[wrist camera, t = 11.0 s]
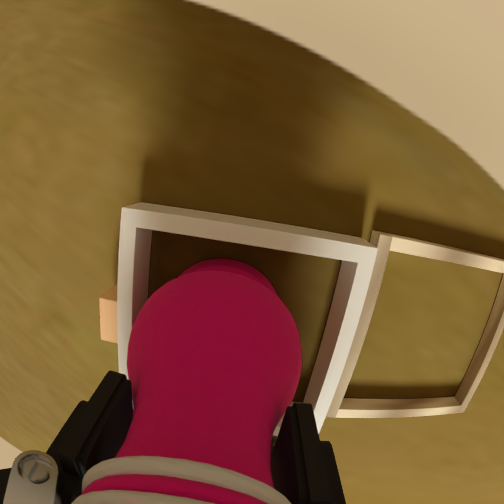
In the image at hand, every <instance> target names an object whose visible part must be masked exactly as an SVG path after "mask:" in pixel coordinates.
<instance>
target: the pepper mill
mask: <svg viewBox="0 0 504 504" xmlns="http://www.w3.org/2000/svg"><path fill="white" fill-rule="evenodd" d="M301 370H302V351H301V343H300V336H299V330H298V328H297V326H296V323H295V321H294V318H293V316H292V315H291V313H290V311H289V310H288V309H287V307H286V306H285V304H284V303H283V302H282V301H281V299H280V298H279V297H278V295H277V293H276V291H275V289H274V287H273V285H272V284H271V283H270V281H269V280H268V279H267V278H266V277H265V276H264V275H263V274H262V273H261V272H260V271H258V270H257V269H255V268H254V267H252V266H250V265H248V264H246V263H243V262H241V261H237V260H233V259H226V258H215V259H209V260H205V261H201V262H199V263H196V264H194V265H192V266H190V267H189V268H187V269H186V270H185V271H183V272H182V273H181V274H180V275H179V276H178V277H177V278H175V279H173V280H171V281H169V282H167V283H166V284H164V285H163V286H162V287H160V288H159V289H158V290H157V291H155V292H154V293H153V294H152V295H151V296H150V297H149V299H148V300H147V301H146V302H145V304H144V305H143V307H142V309H141V310H140V312H139V314H138V316H137V318H136V320H135V322H134V324H133V326H132V330H131V334H130V338H129V343H128V352H127V371H128V378H129V380H131V384H132V400H133V420H132V422H131V425H130V428H129V431H128V433H127V436H126V439H125V442H124V443H123V445H122V447H121V448H120V450H119V452H118V453H117V455H116V457H115V458H112V459H109V460H105V461H102V462H100V463H98V464H96V465H95V466H93V467H92V468H90V469H89V470H88V471H87V472H86V474H85V475H84V478H83V480H82V494H81V496H79V497H77V498H76V499H75V500H74V501H73V502H72V503H71V504H291V503H290V502H289V500H288V499H287V498H286V497H285V496H284V495H282V494H281V493H280V492H278V491H277V490H275V489H274V486H273V481H272V475H271V470H270V466H271V441H272V437H273V433H274V431H275V429H276V427H277V425H278V423H279V421H280V420H281V418H282V416H283V415H284V413H285V411H286V408H287V406H289V405H290V403H291V402H292V400H293V397H294V395H295V392H296V389H297V386H298V383H299V379H300V374H301Z"/></svg>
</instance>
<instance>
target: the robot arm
mask: <svg viewBox="0 0 504 504" xmlns="http://www.w3.org/2000/svg"><path fill="white" fill-rule="evenodd" d="M132 420H133V401H132V384H131V380H128V379H127V377H126V375H125V374H121V373H118V372H114V371H109V372H108V373H107V374H106V376H105V377H104V379H103V380H102V382H101V383H100V385H99V386H98V388H97V389H96V391H95V392H94V394H93V395H92V397H91V398H90V400H89V401H88V402H87V401H84V400H83V401H80V403H79V404H78V405H77V406H76V408H75V409H74V411H73V412H72V414H71V415H70V417H69V418H68V420H67V421H66V423H65V424H64V426H63V427H62V429H61V430H60V432H59V434H58V435H57V437H56V438H55V440H54V441H53V443H52V444H51V446H50V447H49V449H48V450H47V452H46V453H44V452H41V451H36V450H30V451H25V452H23V453H21V454H20V455H18V456H17V457H16V458H15V461H14V463H13V466H12V468H8V469H1V470H0V504H71V503H72V502H73V501H74V500H75V499H76V498H77V497H79V496H81V494H82V480H83V478H84V475H85V474H86V472H87V471H88V470H89V469H90V468H92V467H93V466H95V465H96V464H98V463H100V462H102V461H105V460H109V459H112V458H115V457H116V455H117V453H118V452H119V450H120V448H121V447H122V445H123V443H124V442H125V439H126V436H127V433H128V431H129V428H130V425H131V422H132ZM270 469H271V475H272V481H273V486H274V489H275V490H277V491H278V492H280V493H281V494H282V495H284V496H285V497H286V498H287V499H288V500H289V502H290V503H291V504H346V502H345V498H344V494H343V489H342V485H341V481H340V477H339V473H338V469H337V464H336V460H335V456H334V452H333V448H332V445H331V443H330V442H329V441H320V439H319V435H318V430H317V425H316V421H315V416H314V412H313V407H312V404H309V403H294V404H293V406H287V408H286V411H285V415H284V418H283V421H282V424H281V428H280V431H279V434H278V437H277V440H276V443H275V446H274V449H273V452H272V455H271V466H270Z"/></svg>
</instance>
